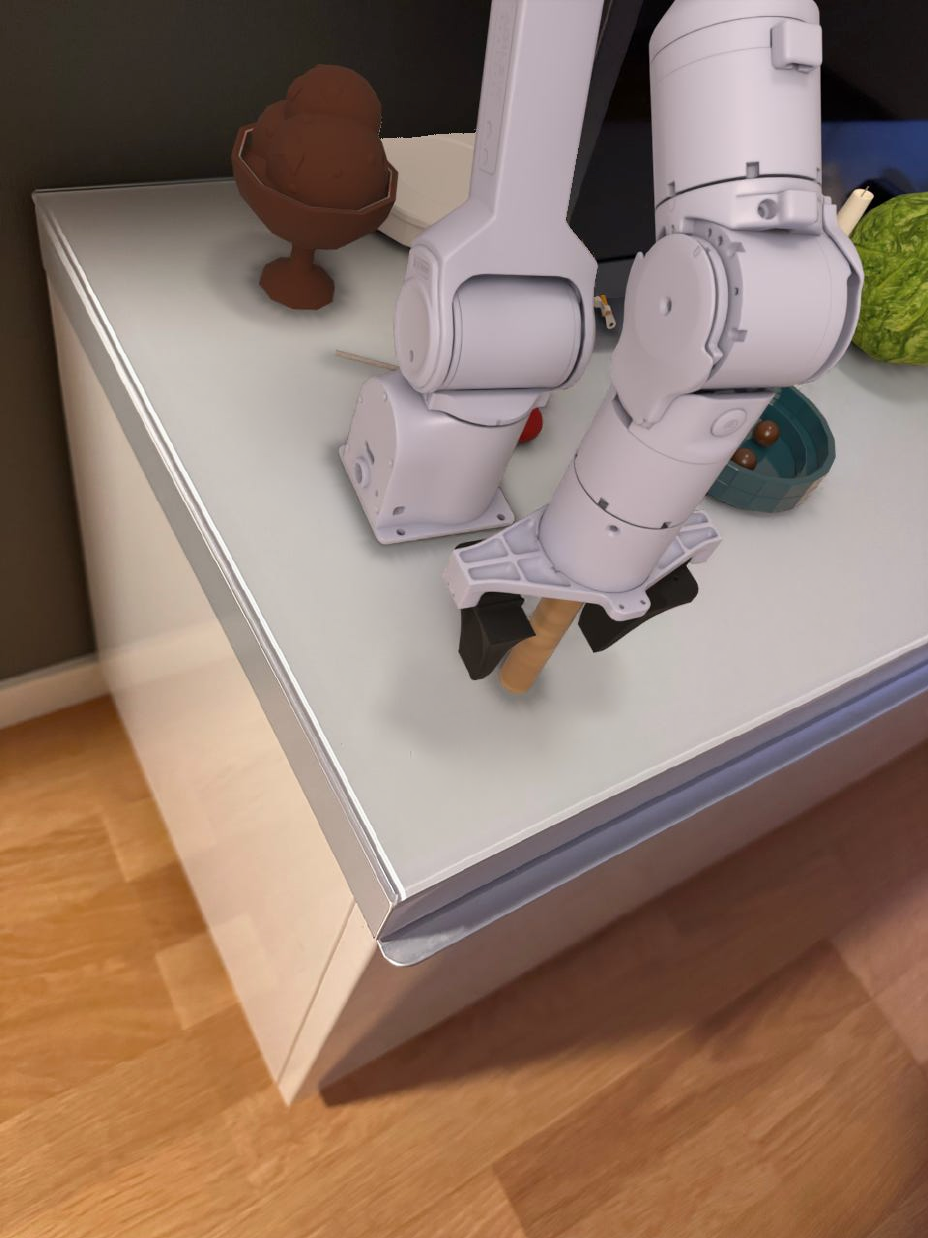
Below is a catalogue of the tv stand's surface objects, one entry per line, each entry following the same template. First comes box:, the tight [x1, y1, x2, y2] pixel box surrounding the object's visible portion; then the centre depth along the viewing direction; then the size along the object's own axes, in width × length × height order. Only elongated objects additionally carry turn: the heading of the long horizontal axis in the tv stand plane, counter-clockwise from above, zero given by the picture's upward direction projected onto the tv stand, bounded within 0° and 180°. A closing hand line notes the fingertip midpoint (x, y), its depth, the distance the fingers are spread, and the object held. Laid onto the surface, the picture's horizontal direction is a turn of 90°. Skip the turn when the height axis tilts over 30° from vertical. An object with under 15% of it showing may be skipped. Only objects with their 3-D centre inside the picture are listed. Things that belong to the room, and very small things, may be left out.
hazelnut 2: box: [752, 420, 780, 447], centre depth 72 cm, size 2×2×2 cm
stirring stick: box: [498, 597, 586, 694], centre depth 51 cm, size 2×2×9 cm
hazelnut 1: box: [730, 448, 757, 471], centre depth 70 cm, size 2×2×2 cm
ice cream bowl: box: [230, 63, 399, 311], centre depth 64 cm, size 11×11×15 cm
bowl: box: [706, 385, 837, 514], centre depth 71 cm, size 13×13×4 cm
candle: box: [837, 185, 874, 236], centre depth 75 cm, size 5×5×16 cm
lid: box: [376, 132, 476, 249], centre depth 81 cm, size 17×20×3 cm
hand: (532, 650), depth 52 cm, fingers open, 7 cm apart
